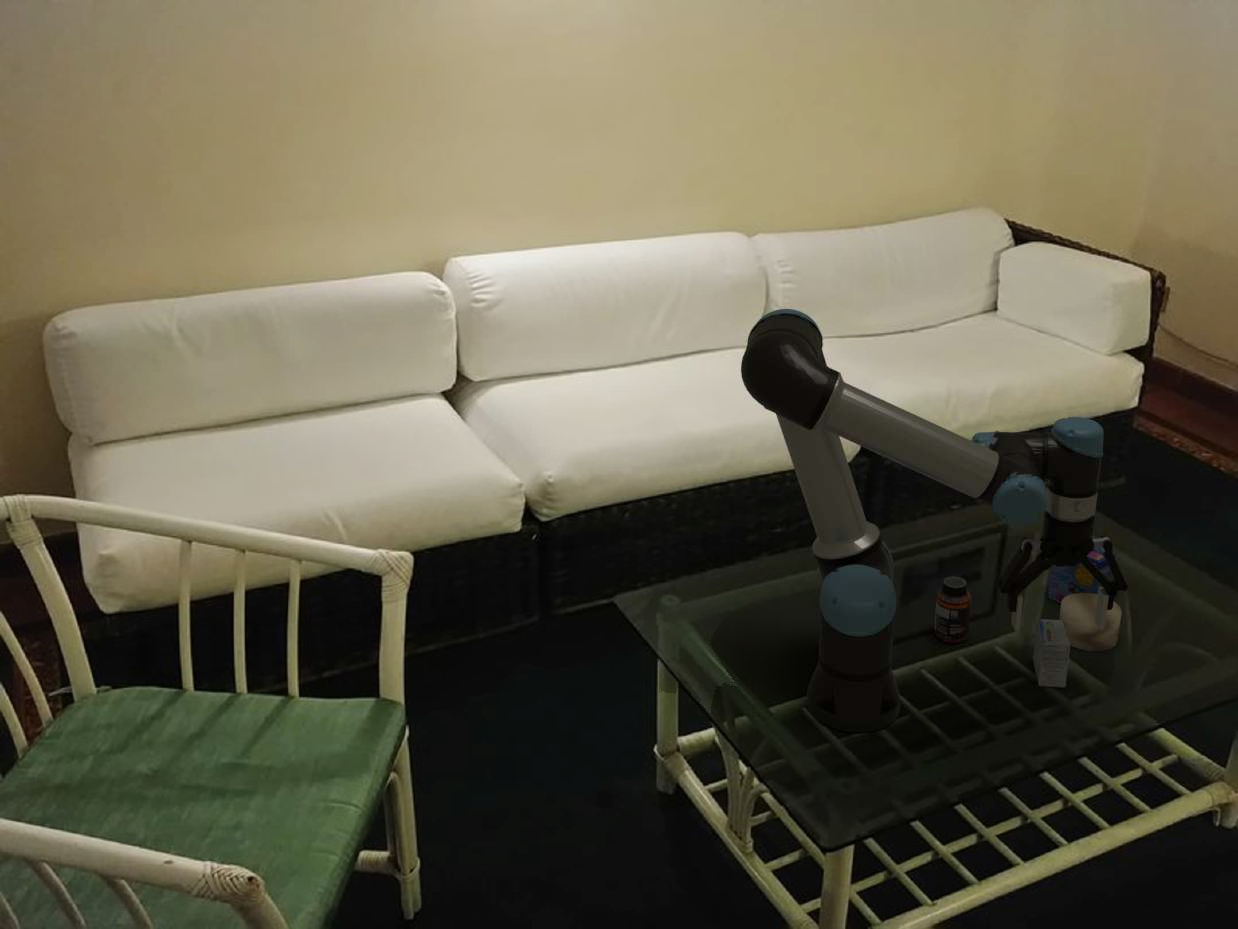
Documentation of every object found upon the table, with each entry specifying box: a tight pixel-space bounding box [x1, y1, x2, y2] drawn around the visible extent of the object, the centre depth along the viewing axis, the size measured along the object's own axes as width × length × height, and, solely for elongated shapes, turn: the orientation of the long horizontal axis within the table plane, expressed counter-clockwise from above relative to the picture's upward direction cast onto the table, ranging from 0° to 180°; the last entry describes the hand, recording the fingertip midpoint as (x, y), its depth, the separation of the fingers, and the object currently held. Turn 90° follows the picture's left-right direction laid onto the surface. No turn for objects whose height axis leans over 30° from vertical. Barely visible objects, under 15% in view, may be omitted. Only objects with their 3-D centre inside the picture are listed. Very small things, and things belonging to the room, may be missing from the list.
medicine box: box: [1032, 618, 1071, 689], centre depth 191 cm, size 8×4×9 cm, turn 168°
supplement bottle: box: [934, 575, 972, 644], centre depth 203 cm, size 6×6×11 cm
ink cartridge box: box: [1046, 547, 1116, 604], centre depth 210 cm, size 10×6×14 cm, turn 38°
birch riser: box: [1058, 593, 1123, 652], centre depth 202 cm, size 10×10×6 cm
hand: (1057, 626), depth 189 cm, fingers open, 13 cm apart
